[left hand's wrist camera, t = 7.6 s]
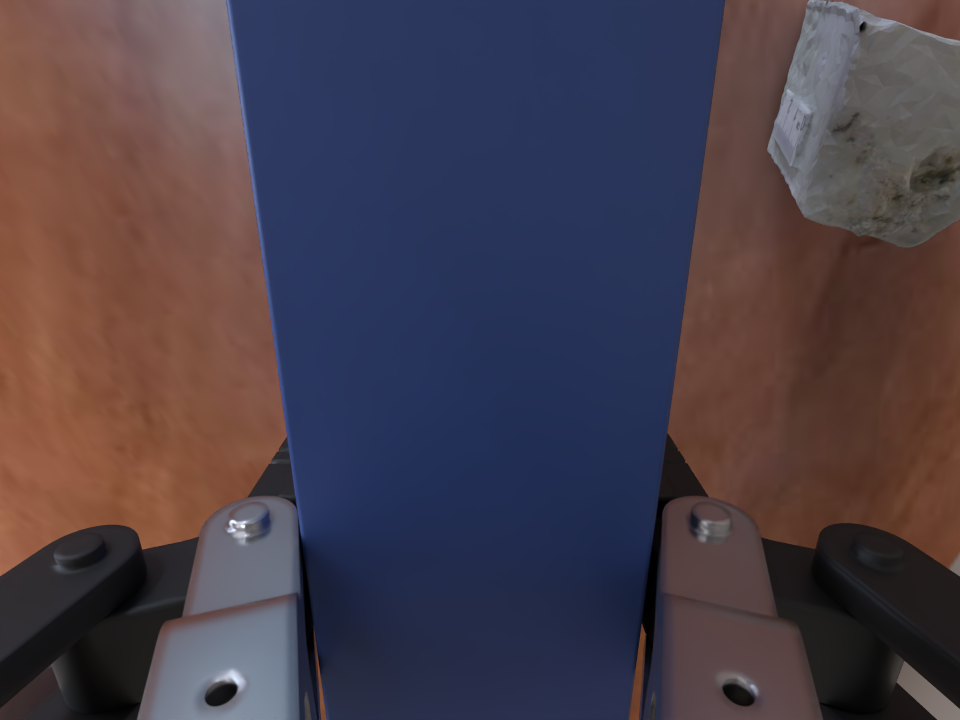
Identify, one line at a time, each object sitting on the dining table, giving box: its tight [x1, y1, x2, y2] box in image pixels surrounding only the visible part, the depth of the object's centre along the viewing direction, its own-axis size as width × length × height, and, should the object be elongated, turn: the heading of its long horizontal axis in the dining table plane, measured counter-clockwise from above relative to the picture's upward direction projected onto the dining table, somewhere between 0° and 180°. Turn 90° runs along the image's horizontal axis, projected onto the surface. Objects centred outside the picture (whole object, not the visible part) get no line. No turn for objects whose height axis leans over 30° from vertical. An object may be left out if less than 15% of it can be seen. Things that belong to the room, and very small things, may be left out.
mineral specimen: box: [767, 0, 960, 248], centre depth 18 cm, size 7×9×8 cm
